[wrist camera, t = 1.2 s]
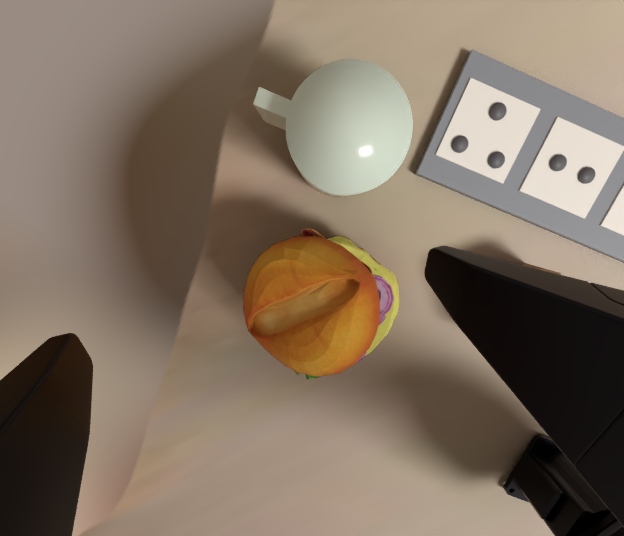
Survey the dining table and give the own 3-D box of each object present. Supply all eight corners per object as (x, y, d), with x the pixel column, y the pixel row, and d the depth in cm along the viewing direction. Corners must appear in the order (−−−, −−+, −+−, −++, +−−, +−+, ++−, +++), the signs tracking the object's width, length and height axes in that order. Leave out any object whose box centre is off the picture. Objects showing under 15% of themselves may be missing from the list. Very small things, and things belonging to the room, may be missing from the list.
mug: (401, 122, 24) (434, 90, 17) (363, 210, 25) (380, 213, 18) (287, 73, 23) (274, 19, 17) (255, 165, 25) (230, 151, 18)
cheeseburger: (356, 375, 28) (338, 447, 18) (257, 309, 30) (192, 343, 20) (420, 277, 26) (438, 300, 16) (310, 213, 28) (267, 199, 18)
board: (717, 166, 24) (731, 165, 23) (649, 273, 26) (660, 276, 25) (468, 53, 23) (473, 48, 22) (414, 174, 25) (417, 173, 24)
